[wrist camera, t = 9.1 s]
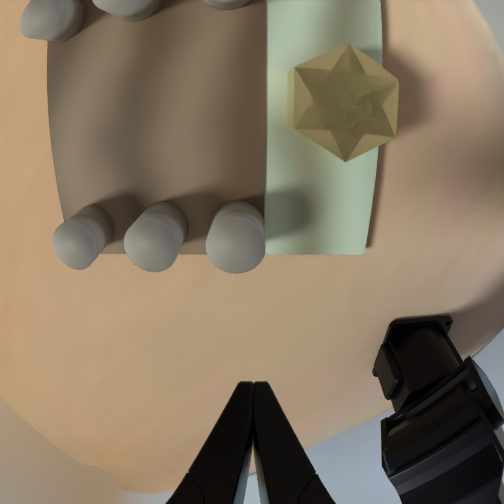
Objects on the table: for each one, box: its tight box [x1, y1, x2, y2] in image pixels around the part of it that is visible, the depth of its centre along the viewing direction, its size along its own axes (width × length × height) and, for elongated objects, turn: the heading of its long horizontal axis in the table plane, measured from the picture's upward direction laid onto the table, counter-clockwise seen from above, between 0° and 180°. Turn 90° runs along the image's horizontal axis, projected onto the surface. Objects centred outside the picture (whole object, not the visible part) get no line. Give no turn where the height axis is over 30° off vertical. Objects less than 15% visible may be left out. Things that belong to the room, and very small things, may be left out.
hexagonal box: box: [287, 43, 399, 162], centre depth 13 cm, size 5×6×3 cm
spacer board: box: [20, 0, 382, 273], centre depth 14 cm, size 20×18×4 cm
